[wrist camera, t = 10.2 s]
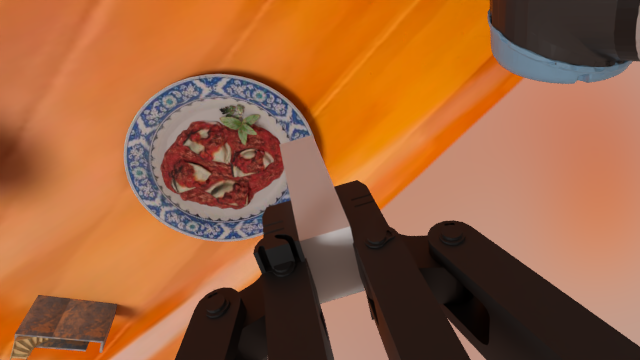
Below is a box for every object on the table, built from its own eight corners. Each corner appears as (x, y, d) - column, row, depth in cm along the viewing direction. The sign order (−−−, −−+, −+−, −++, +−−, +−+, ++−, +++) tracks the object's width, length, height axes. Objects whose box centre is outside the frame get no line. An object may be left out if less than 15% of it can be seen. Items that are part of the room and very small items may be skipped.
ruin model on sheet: (38, 306, 61) (6, 360, 52) (39, 293, 59) (7, 346, 51) (115, 314, 64) (96, 366, 56) (117, 302, 63) (99, 353, 55)
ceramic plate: (253, 255, 63) (254, 267, 61) (95, 186, 52) (87, 197, 49) (350, 137, 55) (355, 145, 53) (187, 26, 44) (184, 30, 42)
